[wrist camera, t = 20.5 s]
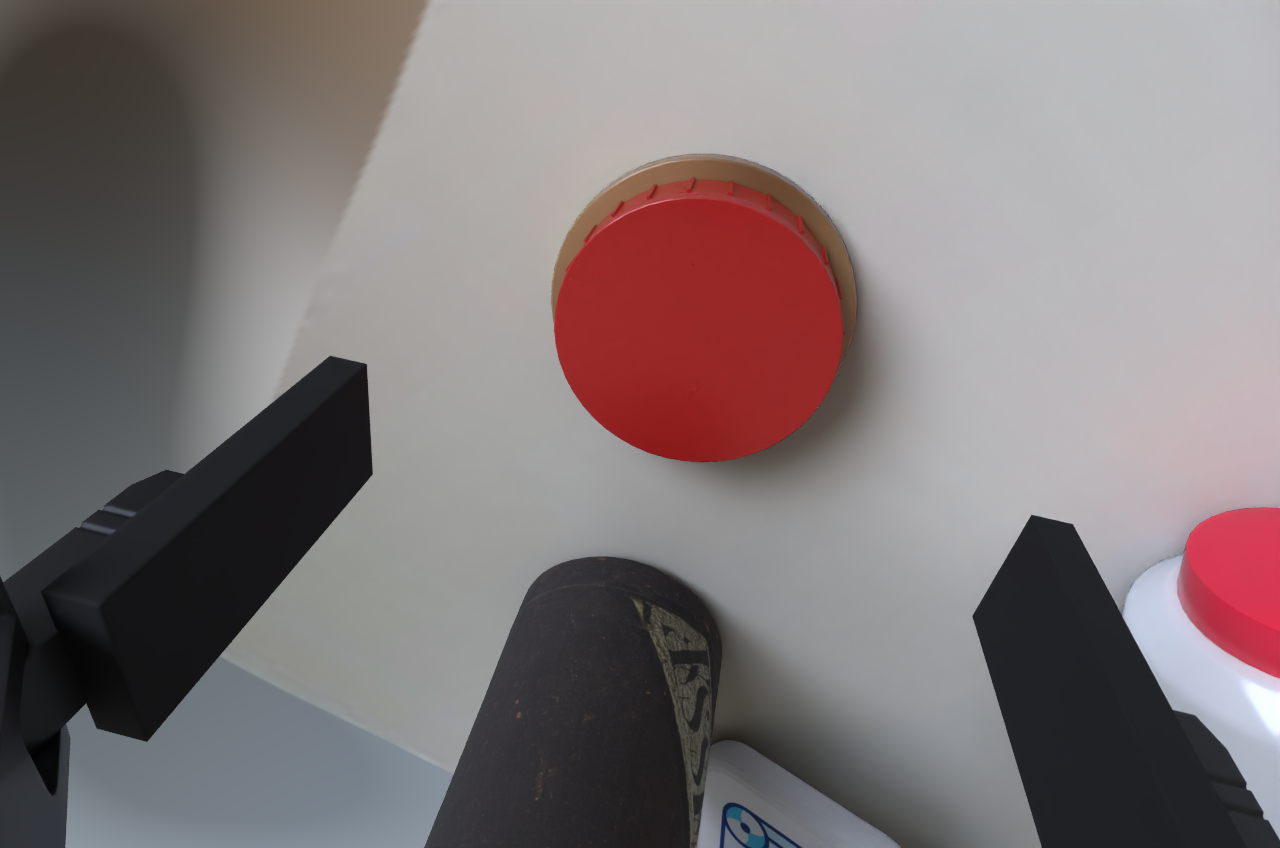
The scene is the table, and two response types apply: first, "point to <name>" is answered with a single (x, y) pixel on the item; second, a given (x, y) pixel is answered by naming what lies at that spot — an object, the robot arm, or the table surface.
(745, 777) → the button
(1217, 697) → the pill bottle
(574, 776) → the container
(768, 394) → the jar lid
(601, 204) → the coaster
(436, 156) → the table surface
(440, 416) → the table surface
